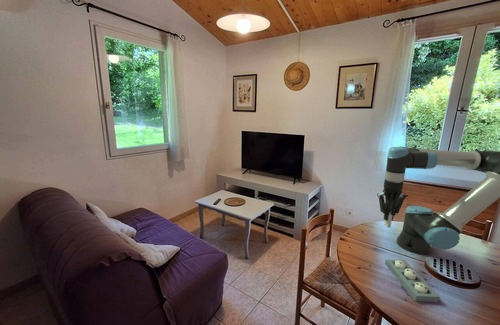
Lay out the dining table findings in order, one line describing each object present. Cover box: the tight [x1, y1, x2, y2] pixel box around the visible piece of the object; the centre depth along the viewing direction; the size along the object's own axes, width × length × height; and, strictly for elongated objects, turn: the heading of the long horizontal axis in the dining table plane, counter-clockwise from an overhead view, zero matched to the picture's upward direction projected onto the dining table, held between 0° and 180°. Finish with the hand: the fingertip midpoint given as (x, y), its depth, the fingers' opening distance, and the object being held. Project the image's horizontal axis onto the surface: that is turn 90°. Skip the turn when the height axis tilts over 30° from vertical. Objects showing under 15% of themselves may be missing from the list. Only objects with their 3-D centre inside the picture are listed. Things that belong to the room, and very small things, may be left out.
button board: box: [384, 258, 441, 303], centre depth 98 cm, size 9×22×2 cm, turn 177°
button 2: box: [404, 268, 418, 280], centre depth 98 cm, size 4×4×3 cm
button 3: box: [414, 282, 428, 293], centre depth 91 cm, size 4×4×3 cm
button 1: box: [395, 259, 406, 269], centre depth 105 cm, size 4×4×3 cm
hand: (387, 226), depth 109 cm, fingers closed
